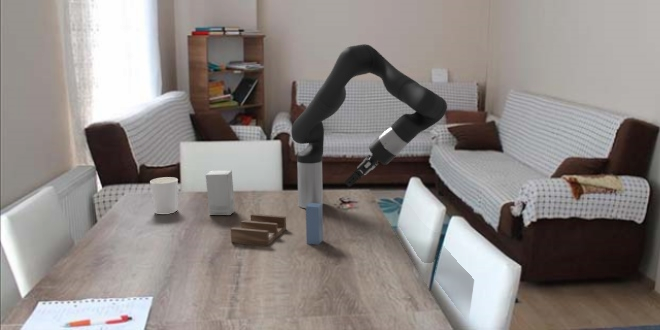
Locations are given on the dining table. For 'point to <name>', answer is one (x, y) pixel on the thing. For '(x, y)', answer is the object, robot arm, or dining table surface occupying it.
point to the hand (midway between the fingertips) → (350, 181)
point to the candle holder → (165, 194)
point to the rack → (259, 230)
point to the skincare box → (220, 192)
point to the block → (314, 223)
